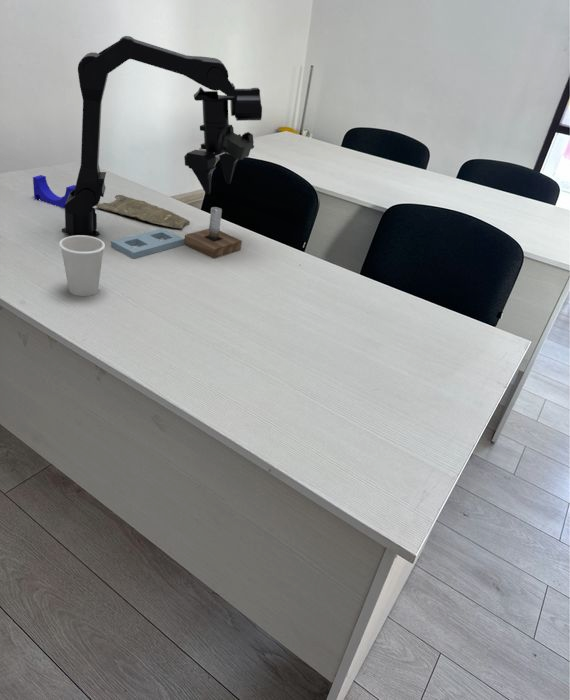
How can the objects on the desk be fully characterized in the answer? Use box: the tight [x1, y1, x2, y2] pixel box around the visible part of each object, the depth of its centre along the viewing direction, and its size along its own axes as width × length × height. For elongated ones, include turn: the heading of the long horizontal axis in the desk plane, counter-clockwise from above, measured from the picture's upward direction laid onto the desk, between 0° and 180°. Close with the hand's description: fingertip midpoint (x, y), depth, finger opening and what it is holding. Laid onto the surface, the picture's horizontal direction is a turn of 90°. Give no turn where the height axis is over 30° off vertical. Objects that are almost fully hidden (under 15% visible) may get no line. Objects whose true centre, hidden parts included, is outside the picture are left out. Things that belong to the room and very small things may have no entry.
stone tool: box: [95, 194, 191, 230], centre depth 157 cm, size 11×3×25 cm
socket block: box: [184, 228, 243, 259], centre depth 145 cm, size 10×10×2 cm
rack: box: [110, 227, 185, 259], centre depth 140 cm, size 16×8×2 cm, turn 143°
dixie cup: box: [58, 235, 106, 297], centre depth 115 cm, size 8×8×10 cm
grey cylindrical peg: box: [208, 206, 223, 242], centre depth 143 cm, size 3×3×10 cm
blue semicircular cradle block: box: [32, 174, 76, 209], centre depth 153 cm, size 12×4×6 cm, turn 68°
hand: (218, 188), depth 140 cm, fingers open, 9 cm apart
